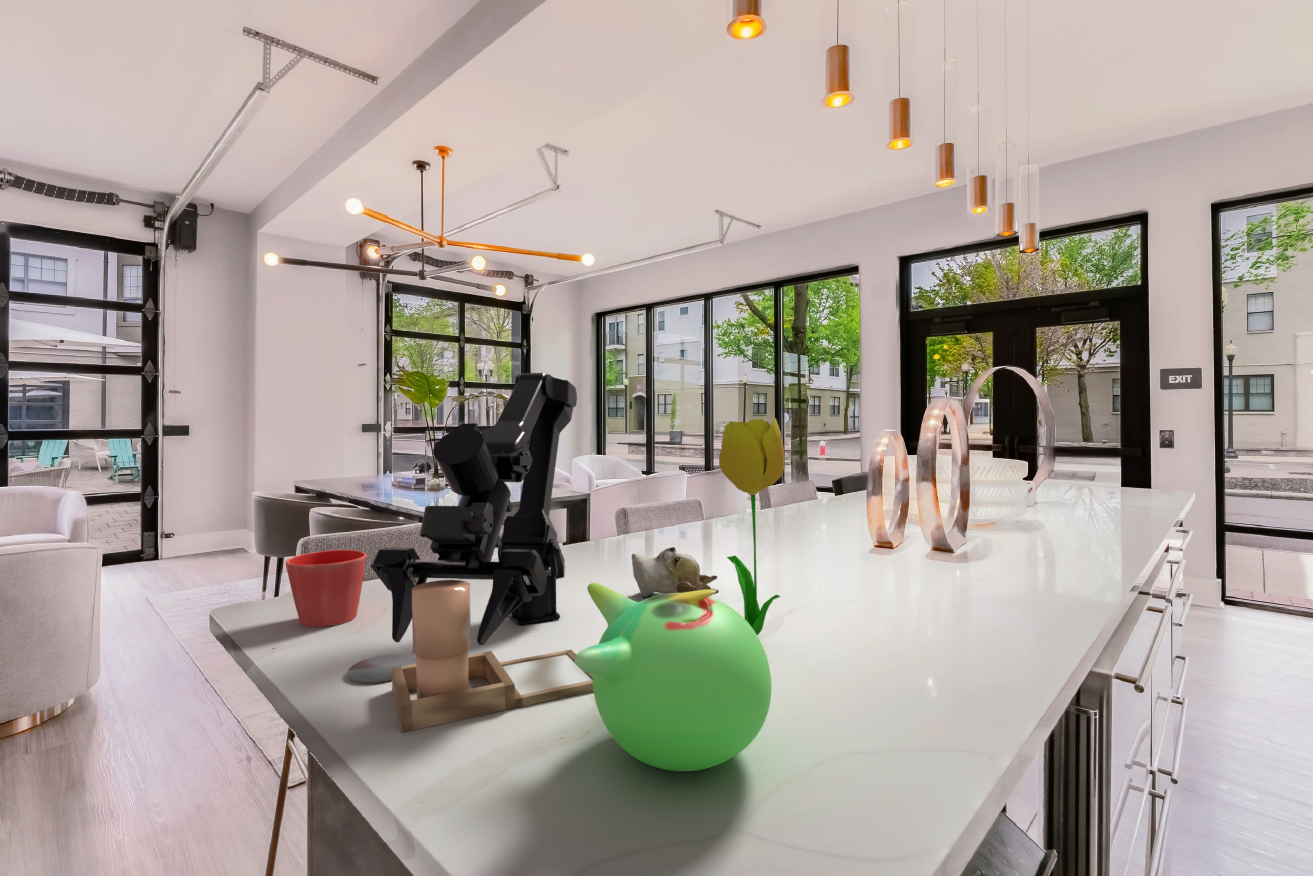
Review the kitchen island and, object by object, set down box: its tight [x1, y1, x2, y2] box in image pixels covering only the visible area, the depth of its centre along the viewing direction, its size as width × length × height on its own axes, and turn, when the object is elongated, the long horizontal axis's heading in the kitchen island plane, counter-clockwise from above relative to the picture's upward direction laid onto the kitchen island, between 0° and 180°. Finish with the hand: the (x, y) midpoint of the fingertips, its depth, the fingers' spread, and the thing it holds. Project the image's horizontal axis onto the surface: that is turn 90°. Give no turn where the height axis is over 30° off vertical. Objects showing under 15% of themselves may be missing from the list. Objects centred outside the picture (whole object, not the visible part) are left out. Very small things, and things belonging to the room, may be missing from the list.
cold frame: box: [391, 649, 594, 733], centre depth 71 cm, size 21×11×2 cm, turn 117°
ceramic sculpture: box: [631, 546, 719, 598], centre depth 108 cm, size 11×9×15 cm
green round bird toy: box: [575, 582, 772, 772], centre depth 57 cm, size 18×17×15 cm
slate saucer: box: [347, 653, 416, 685], centre depth 76 cm, size 8×8×1 cm
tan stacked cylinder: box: [411, 579, 472, 699], centre depth 67 cm, size 6×6×12 cm
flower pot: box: [285, 549, 368, 628], centre depth 97 cm, size 11×11×10 cm
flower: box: [718, 417, 786, 636], centre depth 85 cm, size 9×8×30 cm
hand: (437, 642), depth 66 cm, fingers open, 9 cm apart
